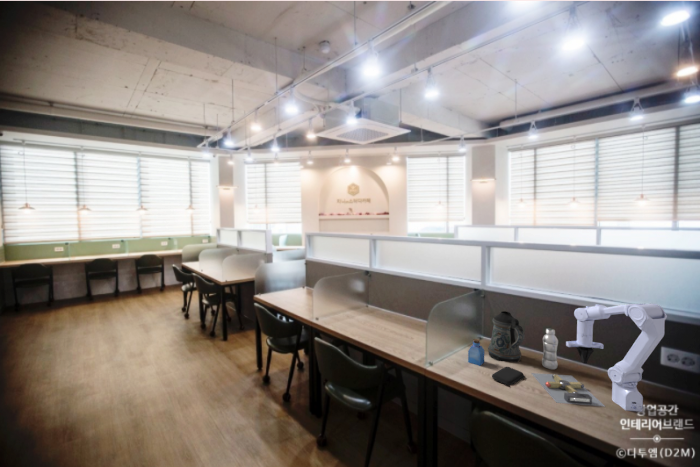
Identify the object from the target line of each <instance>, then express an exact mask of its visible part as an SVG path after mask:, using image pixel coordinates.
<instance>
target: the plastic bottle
mask: <svg viewBox="0 0 700 467" xmlns="http://www.w3.org/2000/svg"><path fill="white" fill-rule="evenodd" d="M542 344H543V352H542V353H543V355H542V359H541V364H542V366H543V368H546V369H547V370H548V369H549V370H556V369H557V368H558V359H557V357H558V356H557V350H558V345H559V339H558V338H557V336H556V330H555V329H553V328H545V334H544V335H543V337H542Z"/></svg>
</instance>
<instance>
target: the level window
mask: <svg viewBox="0 0 700 467" xmlns="http://www.w3.org/2000/svg"><path fill="white" fill-rule="evenodd" d="M564 399H565V400H566V401H567V402H569V403H582V404H592V397H591V396H590V395H589V394H580V393H566V392H564Z"/></svg>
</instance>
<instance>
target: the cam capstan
mask: <svg viewBox="0 0 700 467" xmlns="http://www.w3.org/2000/svg"><path fill="white" fill-rule="evenodd" d="M558 375H559V374H556V373H553V375H552V377H553V379H554V380H555V381H556V382H549V381H547V382H546V383H545V385H546V386H547V387H549V388H559V389H562V390H567V391H568V392H569V393H577V391H576V390H575V389H573V388H578V389H582V388H584V387H585V384H584V383H583V382H581V381H578V382H568V381H565V380H563V379H561V378H560V377H559V376H558Z"/></svg>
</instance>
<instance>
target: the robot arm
mask: <svg viewBox="0 0 700 467" xmlns="http://www.w3.org/2000/svg"><path fill="white" fill-rule="evenodd" d="M623 314H624V315H625V316H626V317H629V318H630V319H631V320H632V322H634V323H635V324H634V325H636V326H637V328H638V329H639V330H641V333H640V334H639V335H638V337H637V338H636V339H635V341H634V343H633V344H632V346H631V347H630V348H629V350H628V352H626V354H625V356H624V358H623V359H622V360H621V361H618V362H616V363H615V364H614V366H612V367H609V368H608V370H607V375H608V378H609V379H610V380H611V382H612V383H611V388H612V389H611V400H612V401H613V403H615V404H616V405H618V406H620V407H621V409H623V410H624V411H631V412H643V406H644V404H643V403H644V402H643V401H644V397H643V395H642V394H641V392H639V389H638V388H637V385H638V382H640V381H641V380H642V378H643V377H642V376H643V375H642V374H643V372H644V369H643V368H642V367H643V365H644V364H645V362H646V361H647V360H648V358H649V357H650V355H651V354H652V353H653V351H654V350H655V349H656V347H657V346H658V344H660V342H661V340H662V339H663V338H664V336H665V322H666V320H667V318H668V315H667V314H666V311H665V310H664V308H663V307H662V305H659V304H658V303H653V302H651V303H627V304H625V303H624V304H619V305H613V306H606V305H604V304H601V303H598V304H597V303H596V304H594V305H593V306H590V305H586V306H585V307H578V308H575V310H574V312H573V315H574V317H575V319H576V320H577V321H576V322H577V324H576V340H571V341H570V340H569V341H565V346H566V347H568V348H576V351H577V352H578V355H579V358H580V362H581V363H582V364H588V363H589V362H588V361H589V359H590V357H591V356H592V354H593V353H594V349H602V350H603V349H604V344H603V343H601V342H595V341H593V339H594V337H593V332H594V324H595V320H596V321H597V320H604V319H606V320H607V319H609V318H610V317H611V316H612V315H623ZM593 348H594V349H593Z"/></svg>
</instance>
